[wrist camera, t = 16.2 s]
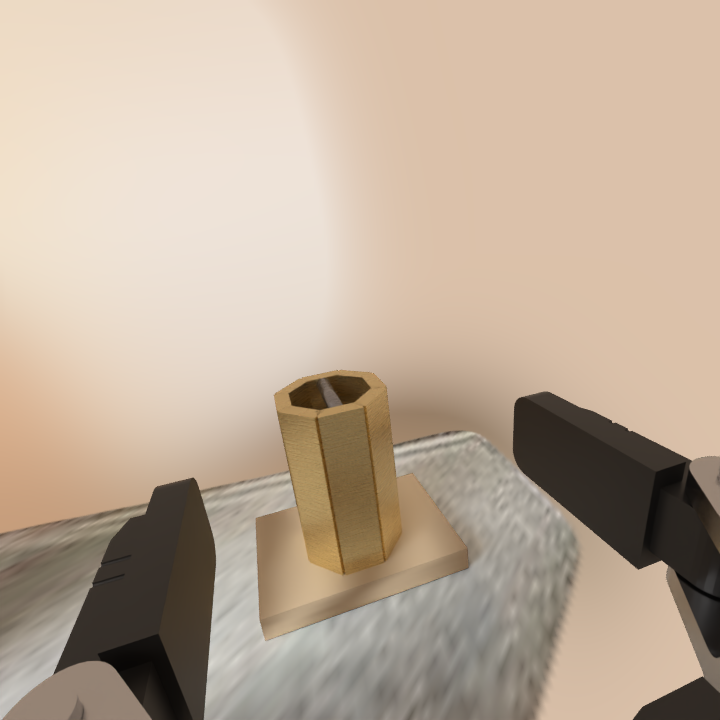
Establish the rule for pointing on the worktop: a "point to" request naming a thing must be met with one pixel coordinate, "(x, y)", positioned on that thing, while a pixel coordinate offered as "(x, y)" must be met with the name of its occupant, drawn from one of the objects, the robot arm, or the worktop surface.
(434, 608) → the worktop surface
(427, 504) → the shaft base
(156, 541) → the robot arm
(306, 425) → the sleeve
